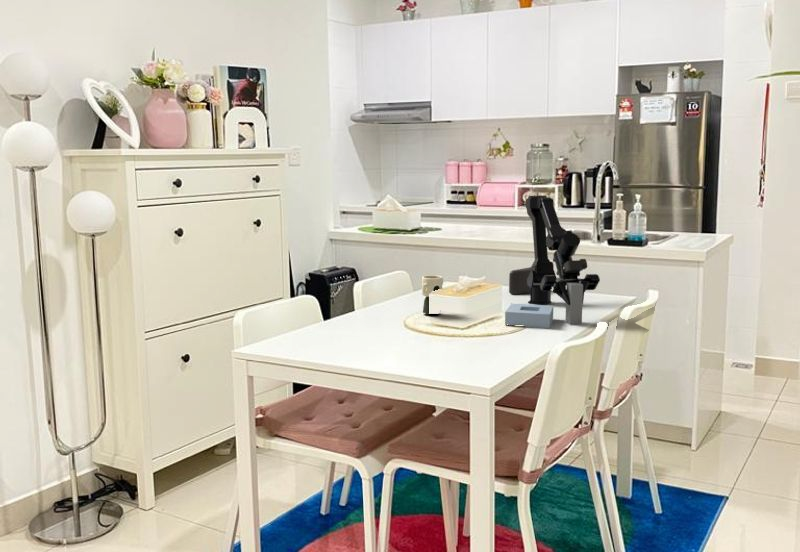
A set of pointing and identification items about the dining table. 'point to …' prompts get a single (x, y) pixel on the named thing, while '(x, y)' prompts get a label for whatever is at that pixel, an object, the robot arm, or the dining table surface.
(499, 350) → the dining table surface
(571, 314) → the gray block
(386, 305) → the dining table surface
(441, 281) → the character mug
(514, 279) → the leaning round-cornered charcoal block
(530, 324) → the socket block
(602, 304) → the dining table surface
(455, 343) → the dining table surface
